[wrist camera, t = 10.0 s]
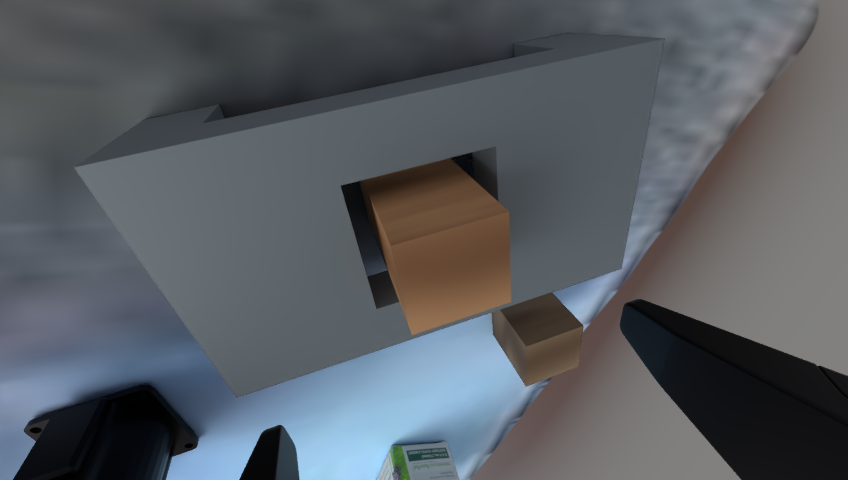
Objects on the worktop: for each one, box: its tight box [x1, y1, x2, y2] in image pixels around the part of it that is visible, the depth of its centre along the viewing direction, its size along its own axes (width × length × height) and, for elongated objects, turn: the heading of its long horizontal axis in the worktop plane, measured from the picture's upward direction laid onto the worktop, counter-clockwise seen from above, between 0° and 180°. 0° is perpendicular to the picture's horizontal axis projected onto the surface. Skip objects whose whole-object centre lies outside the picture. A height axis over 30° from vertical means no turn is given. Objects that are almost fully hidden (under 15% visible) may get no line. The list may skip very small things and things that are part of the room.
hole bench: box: [74, 33, 665, 398], centre depth 18 cm, size 11×20×6 cm, turn 98°
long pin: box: [359, 158, 511, 335], centre depth 17 cm, size 4×4×9 cm
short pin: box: [492, 292, 583, 386], centre depth 26 cm, size 4×4×5 cm
